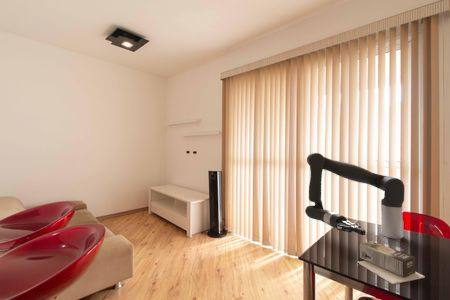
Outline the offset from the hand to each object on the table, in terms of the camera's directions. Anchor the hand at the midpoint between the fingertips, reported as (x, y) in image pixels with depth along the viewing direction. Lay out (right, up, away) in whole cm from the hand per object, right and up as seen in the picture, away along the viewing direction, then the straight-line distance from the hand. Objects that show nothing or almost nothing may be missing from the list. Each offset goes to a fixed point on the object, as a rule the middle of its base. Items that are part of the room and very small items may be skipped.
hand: (364, 233), depth 92 cm
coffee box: (0, -7, 0) cm, 7 cm away
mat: (+3, -11, -10) cm, 15 cm away
